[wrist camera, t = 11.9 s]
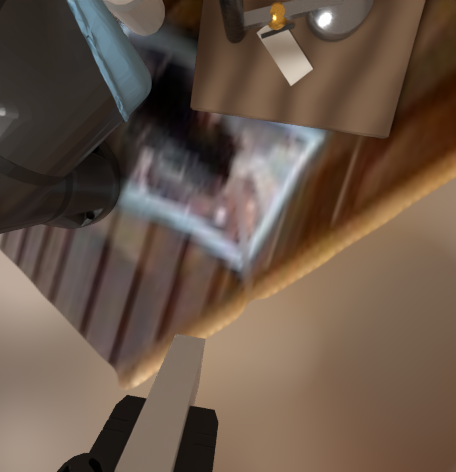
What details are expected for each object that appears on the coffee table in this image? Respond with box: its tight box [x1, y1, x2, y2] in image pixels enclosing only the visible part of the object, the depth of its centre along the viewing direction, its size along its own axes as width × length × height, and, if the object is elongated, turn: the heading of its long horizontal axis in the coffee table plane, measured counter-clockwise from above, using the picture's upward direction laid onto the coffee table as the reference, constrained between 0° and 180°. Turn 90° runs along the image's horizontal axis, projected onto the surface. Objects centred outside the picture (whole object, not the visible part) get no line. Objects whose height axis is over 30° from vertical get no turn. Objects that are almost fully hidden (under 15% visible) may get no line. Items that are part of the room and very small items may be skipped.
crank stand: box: [190, 0, 425, 138], centre depth 35 cm, size 26×20×2 cm
